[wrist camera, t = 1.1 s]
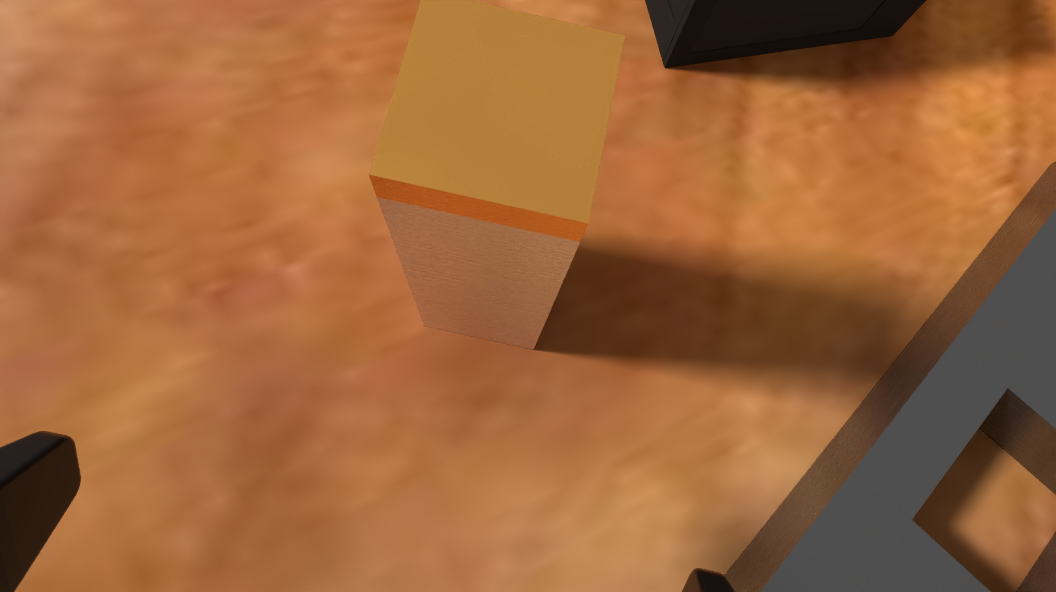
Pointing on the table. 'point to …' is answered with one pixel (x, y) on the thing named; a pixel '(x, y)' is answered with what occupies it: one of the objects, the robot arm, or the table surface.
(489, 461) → the table surface
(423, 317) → the grey square peg
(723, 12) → the digital camera
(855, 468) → the gray slotted board
